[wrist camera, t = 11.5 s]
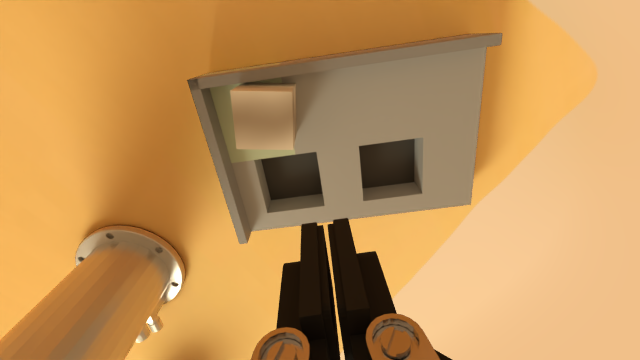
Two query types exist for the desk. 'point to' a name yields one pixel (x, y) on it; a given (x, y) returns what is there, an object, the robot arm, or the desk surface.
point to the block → (264, 115)
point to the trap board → (354, 134)
